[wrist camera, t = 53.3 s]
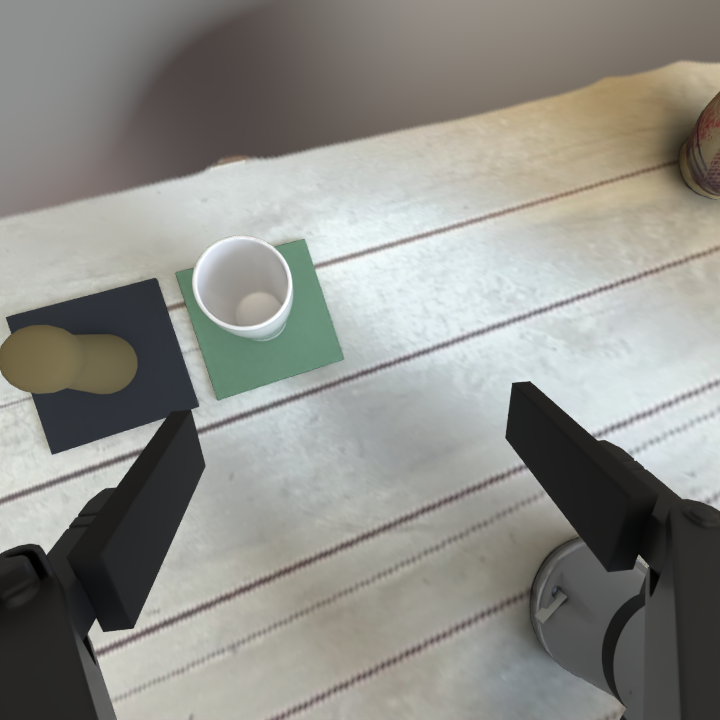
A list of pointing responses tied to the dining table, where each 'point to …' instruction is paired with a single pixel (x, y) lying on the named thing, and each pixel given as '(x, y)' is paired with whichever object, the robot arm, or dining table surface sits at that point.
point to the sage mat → (279, 355)
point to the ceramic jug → (703, 153)
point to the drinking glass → (244, 287)
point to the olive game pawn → (66, 361)
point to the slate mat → (153, 375)
